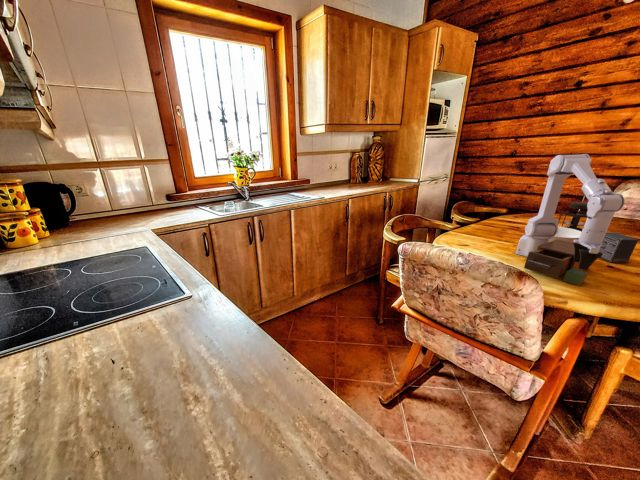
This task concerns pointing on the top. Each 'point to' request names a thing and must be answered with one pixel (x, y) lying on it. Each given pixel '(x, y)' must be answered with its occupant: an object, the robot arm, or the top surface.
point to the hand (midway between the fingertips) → (580, 265)
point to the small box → (617, 247)
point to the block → (575, 276)
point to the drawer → (548, 262)
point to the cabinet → (561, 250)
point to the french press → (575, 215)
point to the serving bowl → (566, 235)
